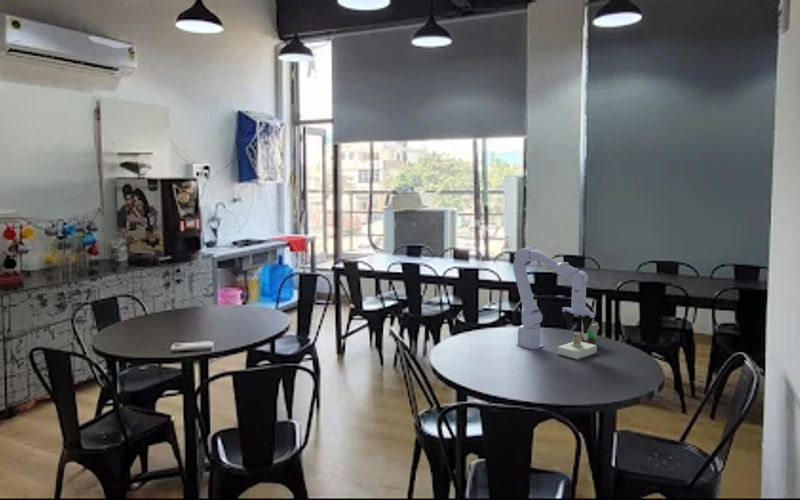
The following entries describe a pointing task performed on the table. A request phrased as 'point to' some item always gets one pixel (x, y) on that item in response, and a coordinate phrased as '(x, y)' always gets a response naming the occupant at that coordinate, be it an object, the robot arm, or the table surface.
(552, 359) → the table surface
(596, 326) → the food container
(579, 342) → the peg
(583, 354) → the socket block
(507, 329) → the table surface
